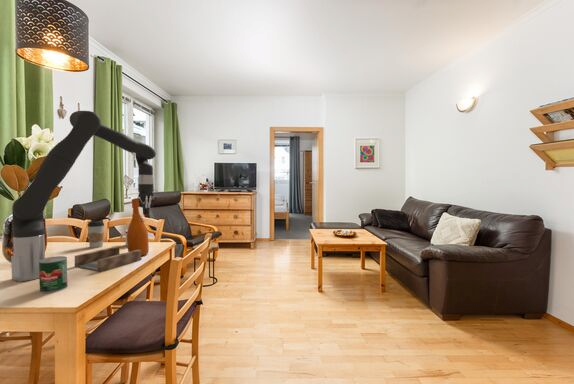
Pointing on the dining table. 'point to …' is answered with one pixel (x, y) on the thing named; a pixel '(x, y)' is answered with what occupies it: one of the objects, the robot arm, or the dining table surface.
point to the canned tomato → (53, 274)
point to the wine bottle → (137, 231)
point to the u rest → (106, 259)
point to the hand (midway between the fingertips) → (146, 214)
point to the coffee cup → (95, 233)
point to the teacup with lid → (125, 237)
